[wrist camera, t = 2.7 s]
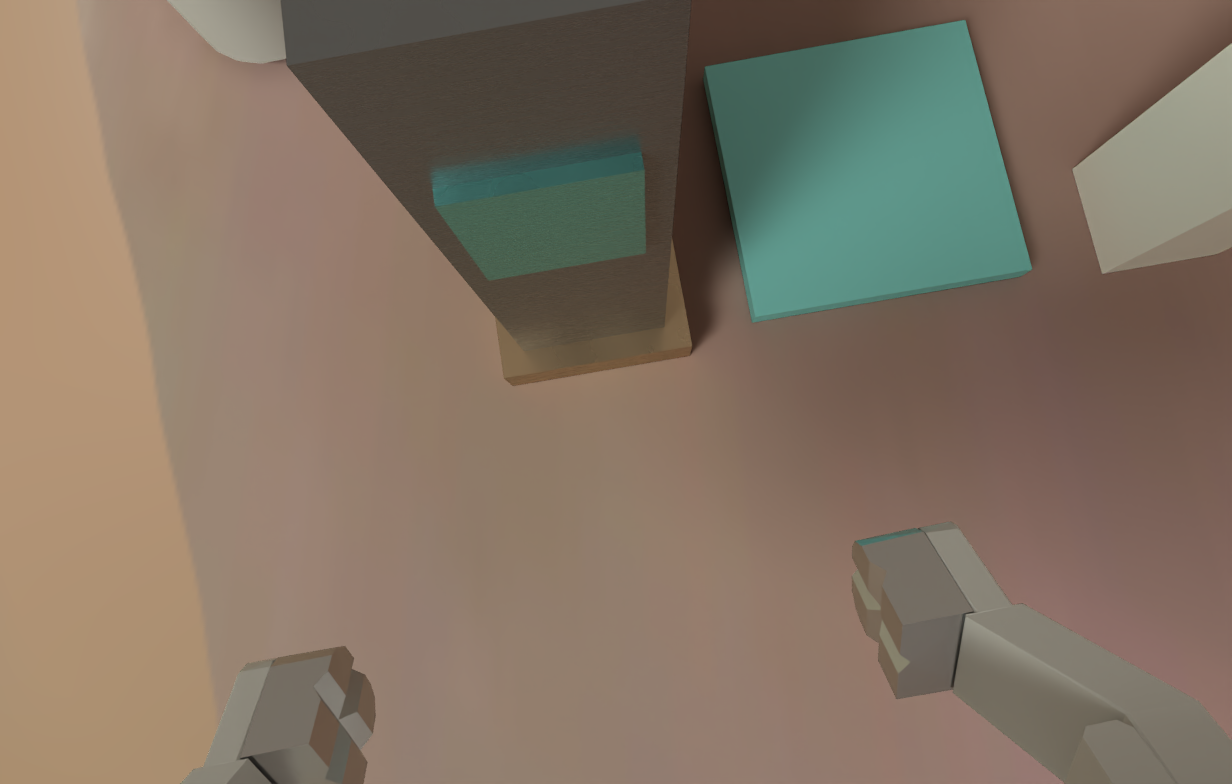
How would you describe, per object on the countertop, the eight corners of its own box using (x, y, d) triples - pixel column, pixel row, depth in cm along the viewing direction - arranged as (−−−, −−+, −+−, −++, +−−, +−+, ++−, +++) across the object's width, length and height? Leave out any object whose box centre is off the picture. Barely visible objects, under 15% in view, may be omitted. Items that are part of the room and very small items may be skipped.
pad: (1020, 276, 32) (1032, 269, 31) (752, 322, 32) (755, 317, 31) (956, 34, 34) (965, 19, 33) (703, 79, 34) (704, 66, 33)
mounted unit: (689, 355, 32) (773, 42, 10) (512, 385, 32) (226, 140, 10) (633, 52, 34) (605, -727, 13) (469, 82, 34) (161, -637, 13)
